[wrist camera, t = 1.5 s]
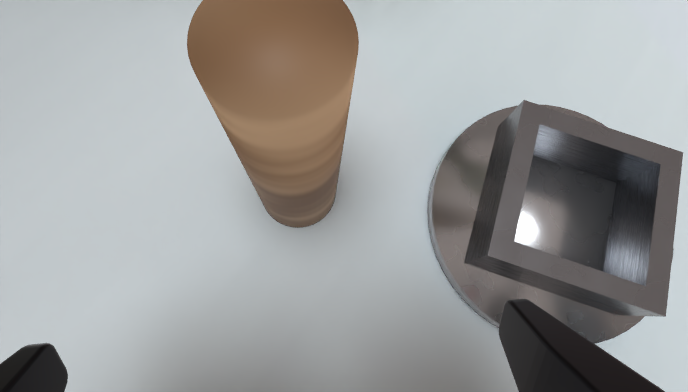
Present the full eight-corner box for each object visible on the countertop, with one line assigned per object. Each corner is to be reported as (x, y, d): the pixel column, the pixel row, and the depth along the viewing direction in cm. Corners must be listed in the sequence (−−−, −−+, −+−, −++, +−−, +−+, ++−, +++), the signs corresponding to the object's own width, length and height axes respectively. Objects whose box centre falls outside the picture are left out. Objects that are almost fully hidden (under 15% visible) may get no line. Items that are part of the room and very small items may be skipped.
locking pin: (348, 204, 22) (390, 70, 10) (283, 241, 21) (234, 146, 9) (313, 144, 23) (307, -53, 10) (248, 177, 22) (159, 7, 10)
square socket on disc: (643, 380, 21) (717, 396, 17) (399, 295, 21) (417, 292, 17) (669, 153, 24) (736, 124, 20) (459, 84, 24) (486, 42, 21)
